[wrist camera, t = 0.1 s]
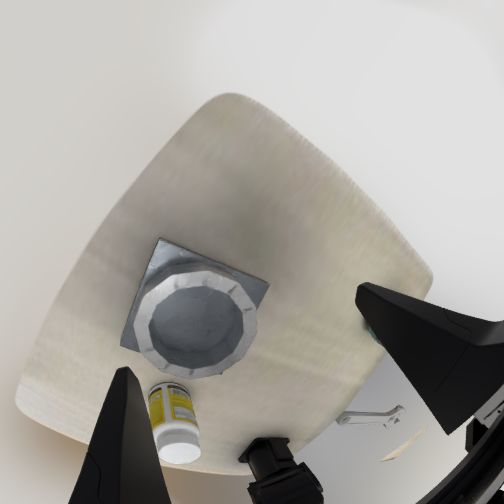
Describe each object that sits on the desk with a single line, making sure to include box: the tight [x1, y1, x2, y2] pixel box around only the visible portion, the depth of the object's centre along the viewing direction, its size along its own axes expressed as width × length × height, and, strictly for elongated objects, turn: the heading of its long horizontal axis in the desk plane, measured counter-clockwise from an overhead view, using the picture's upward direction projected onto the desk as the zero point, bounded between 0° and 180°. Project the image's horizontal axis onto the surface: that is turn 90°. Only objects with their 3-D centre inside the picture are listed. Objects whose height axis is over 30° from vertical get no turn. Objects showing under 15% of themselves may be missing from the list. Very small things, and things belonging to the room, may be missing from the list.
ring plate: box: [120, 238, 269, 379], centre depth 23 cm, size 11×11×3 cm
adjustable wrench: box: [335, 405, 406, 429], centre depth 43 cm, size 25×6×2 cm, turn 54°
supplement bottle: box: [148, 383, 201, 464], centre depth 22 cm, size 5×5×8 cm
